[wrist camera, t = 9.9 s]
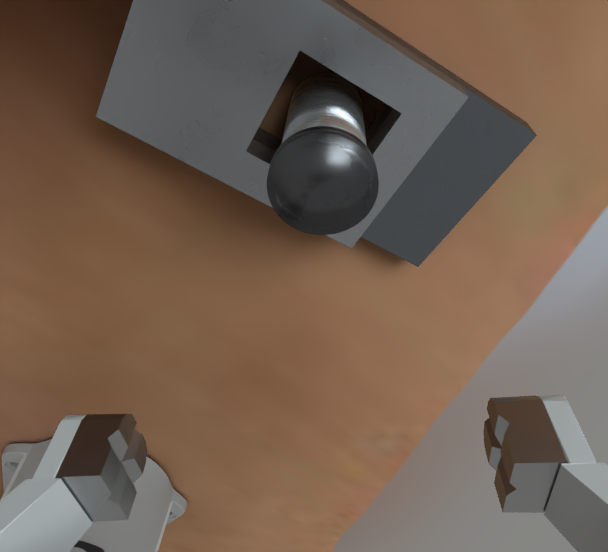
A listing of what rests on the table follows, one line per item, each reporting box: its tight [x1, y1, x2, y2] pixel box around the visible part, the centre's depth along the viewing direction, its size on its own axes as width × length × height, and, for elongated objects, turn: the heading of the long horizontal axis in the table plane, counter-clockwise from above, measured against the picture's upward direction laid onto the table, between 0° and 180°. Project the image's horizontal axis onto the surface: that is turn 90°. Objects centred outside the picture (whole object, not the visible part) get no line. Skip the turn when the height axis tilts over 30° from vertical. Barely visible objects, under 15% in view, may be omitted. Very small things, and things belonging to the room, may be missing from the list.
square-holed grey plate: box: [96, 0, 537, 267], centre depth 27 cm, size 10×20×4 cm, turn 60°
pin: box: [267, 73, 379, 235], centre depth 25 cm, size 5×5×9 cm
